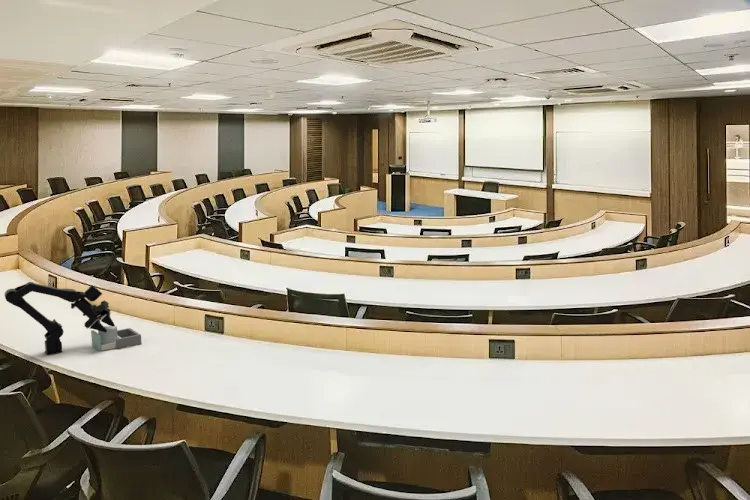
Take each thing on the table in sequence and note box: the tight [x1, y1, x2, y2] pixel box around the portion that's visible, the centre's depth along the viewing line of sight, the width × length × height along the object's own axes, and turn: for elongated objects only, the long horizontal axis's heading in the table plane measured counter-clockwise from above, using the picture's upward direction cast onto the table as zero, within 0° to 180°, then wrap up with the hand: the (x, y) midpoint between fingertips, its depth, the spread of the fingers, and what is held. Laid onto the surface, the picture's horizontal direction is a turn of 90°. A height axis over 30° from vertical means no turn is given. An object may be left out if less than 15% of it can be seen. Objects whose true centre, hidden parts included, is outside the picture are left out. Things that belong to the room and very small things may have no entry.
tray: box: [90, 329, 121, 352], centre depth 284 cm, size 13×13×8 cm
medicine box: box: [97, 325, 118, 345], centre depth 284 cm, size 8×4×9 cm, turn 93°
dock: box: [115, 327, 142, 350], centre depth 290 cm, size 12×16×5 cm
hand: (110, 329), depth 284 cm, fingers open, 9 cm apart
